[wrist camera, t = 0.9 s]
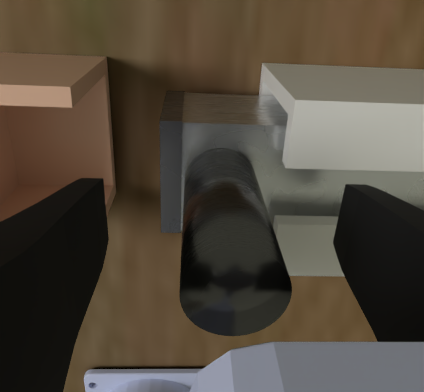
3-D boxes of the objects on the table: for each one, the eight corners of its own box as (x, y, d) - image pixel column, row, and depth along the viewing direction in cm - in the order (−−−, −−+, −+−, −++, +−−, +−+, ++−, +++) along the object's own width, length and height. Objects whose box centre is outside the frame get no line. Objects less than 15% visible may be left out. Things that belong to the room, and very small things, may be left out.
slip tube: (425, 188, 19) (622, 361, 10) (167, 183, 18) (144, 362, 10) (453, 101, 17) (723, 220, 8) (167, 90, 16) (138, 209, 8)
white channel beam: (437, 199, 20) (528, 278, 15) (249, 194, 20) (270, 275, 14) (480, 71, 18) (612, 111, 12) (262, 63, 17) (295, 100, 11)
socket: (116, 192, 19) (90, 263, 14) (13, 189, 19) (-50, 261, 14) (106, 56, 17) (70, 86, 12) (-15, 51, 16) (-106, 80, 11)
